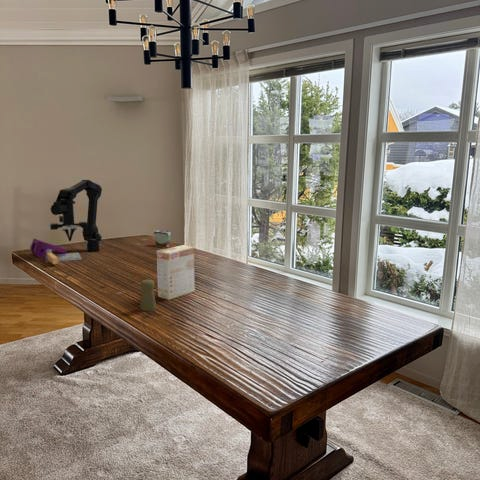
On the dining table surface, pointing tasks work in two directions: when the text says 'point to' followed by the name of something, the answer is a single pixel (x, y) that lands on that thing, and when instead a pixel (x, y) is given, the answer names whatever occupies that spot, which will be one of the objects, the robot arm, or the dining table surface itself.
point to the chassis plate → (66, 257)
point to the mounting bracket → (43, 248)
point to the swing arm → (51, 256)
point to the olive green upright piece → (147, 296)
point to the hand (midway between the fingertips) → (70, 240)
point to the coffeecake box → (175, 271)
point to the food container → (162, 238)
